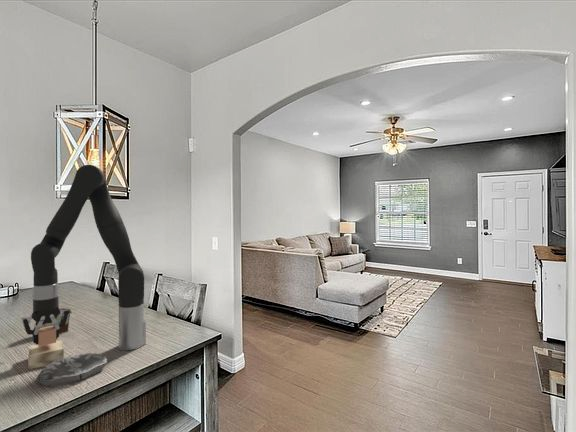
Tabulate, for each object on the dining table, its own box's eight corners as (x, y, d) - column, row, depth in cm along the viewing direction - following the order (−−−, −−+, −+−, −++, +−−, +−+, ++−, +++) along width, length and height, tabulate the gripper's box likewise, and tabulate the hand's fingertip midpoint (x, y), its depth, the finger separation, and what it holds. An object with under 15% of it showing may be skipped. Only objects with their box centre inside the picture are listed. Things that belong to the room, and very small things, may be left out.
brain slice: (95, 355, 121) (95, 347, 120) (112, 371, 109) (112, 362, 109) (30, 375, 106) (30, 367, 106) (42, 396, 95) (42, 386, 94)
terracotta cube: (52, 338, 119) (52, 325, 119) (56, 342, 116) (56, 329, 116) (36, 342, 115) (36, 329, 115) (39, 346, 112) (39, 333, 112)
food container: (67, 327, 146) (67, 306, 146) (71, 330, 142) (71, 309, 142) (34, 335, 137) (34, 312, 136) (38, 339, 133) (37, 316, 133)
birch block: (62, 351, 123) (62, 339, 123) (63, 362, 115) (63, 348, 115) (29, 358, 117) (29, 345, 117) (28, 370, 109) (28, 356, 109)
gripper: (22, 302, 107) (23, 351, 108) (71, 294, 118) (72, 338, 119) (18, 298, 112) (19, 344, 113) (66, 290, 123) (66, 332, 124)
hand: (46, 341), depth 116 cm, fingers closed on terracotta cube, 5 cm apart
